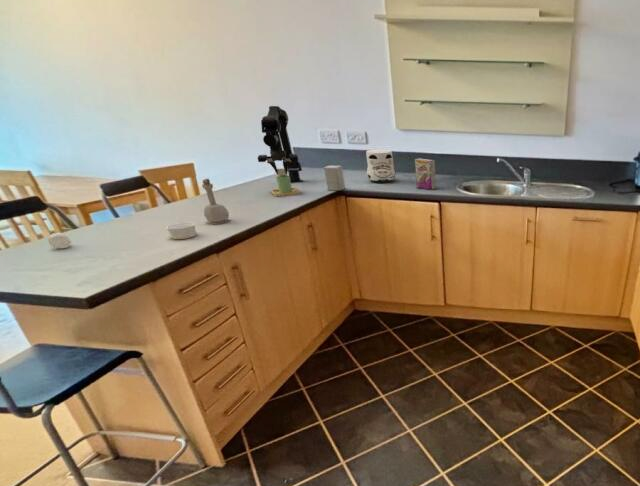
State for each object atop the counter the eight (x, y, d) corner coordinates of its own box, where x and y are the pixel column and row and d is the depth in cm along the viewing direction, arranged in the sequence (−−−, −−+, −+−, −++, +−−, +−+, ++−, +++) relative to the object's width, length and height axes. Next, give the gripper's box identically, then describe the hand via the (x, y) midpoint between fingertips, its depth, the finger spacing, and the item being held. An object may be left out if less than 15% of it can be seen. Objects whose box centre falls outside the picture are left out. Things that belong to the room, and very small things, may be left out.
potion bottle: (235, 220, 181) (223, 178, 173) (216, 225, 174) (202, 182, 166) (220, 217, 184) (207, 176, 175) (201, 223, 176) (187, 180, 168)
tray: (271, 192, 228) (270, 189, 227) (295, 189, 235) (294, 187, 234) (276, 196, 220) (275, 194, 219) (300, 193, 226) (300, 191, 226)
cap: (286, 175, 222) (285, 169, 221) (278, 175, 221) (277, 170, 219) (286, 173, 226) (285, 168, 224) (277, 174, 224) (276, 168, 222)
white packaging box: (345, 188, 242) (342, 165, 236) (339, 190, 235) (336, 167, 230) (333, 187, 242) (329, 165, 237) (327, 190, 236) (323, 167, 230)
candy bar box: (416, 187, 248) (413, 159, 240) (421, 186, 252) (419, 158, 244) (431, 190, 244) (430, 161, 236) (436, 188, 248) (435, 160, 240)
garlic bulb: (71, 243, 152) (64, 228, 149) (74, 246, 148) (67, 232, 146) (50, 246, 148) (42, 232, 145) (53, 250, 144) (45, 235, 142)
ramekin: (170, 235, 162) (166, 224, 160) (197, 231, 167) (193, 220, 165) (170, 241, 156) (166, 230, 154) (198, 237, 161) (195, 226, 159)
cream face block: (381, 185, 251) (378, 154, 243) (362, 181, 259) (358, 151, 251) (402, 180, 264) (399, 151, 256) (383, 177, 272) (380, 148, 264)
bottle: (277, 192, 226) (272, 170, 221) (287, 190, 231) (283, 168, 226) (284, 194, 224) (279, 172, 218) (295, 192, 229) (290, 170, 223)
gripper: (252, 146, 206) (260, 178, 213) (294, 145, 212) (300, 176, 220) (255, 143, 215) (263, 174, 222) (295, 142, 221) (301, 172, 229)
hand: (282, 174), depth 223 cm, fingers closed on cap, 4 cm apart
